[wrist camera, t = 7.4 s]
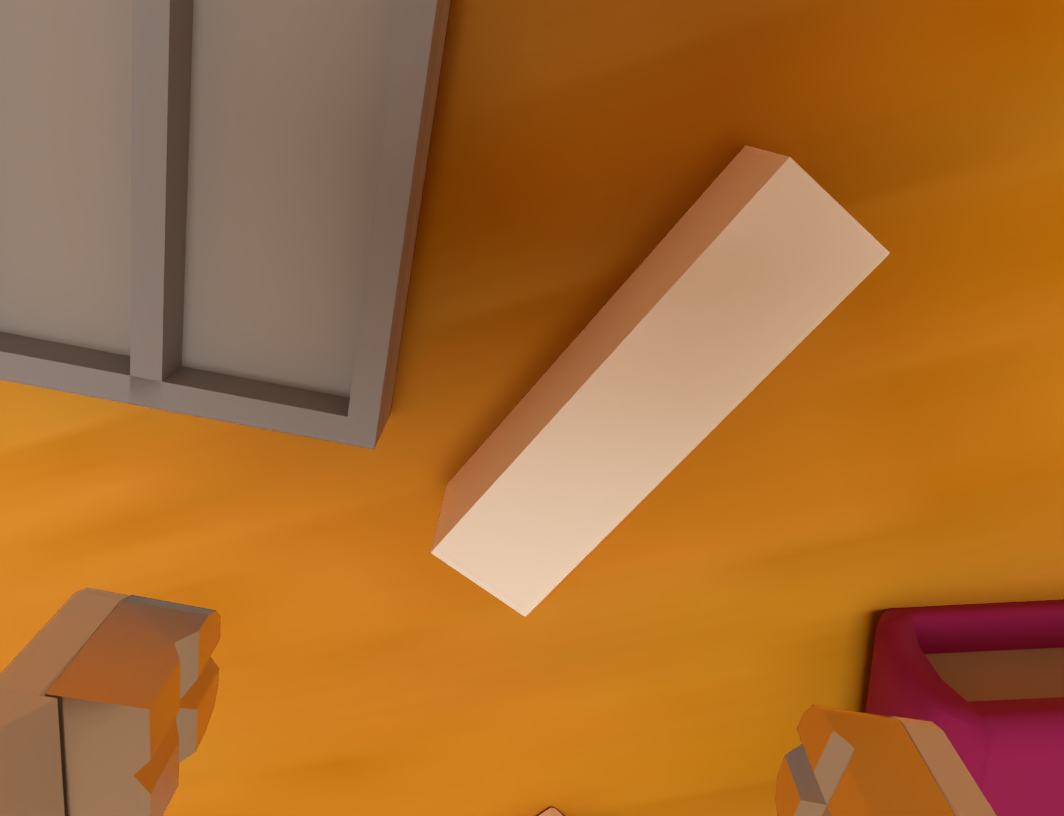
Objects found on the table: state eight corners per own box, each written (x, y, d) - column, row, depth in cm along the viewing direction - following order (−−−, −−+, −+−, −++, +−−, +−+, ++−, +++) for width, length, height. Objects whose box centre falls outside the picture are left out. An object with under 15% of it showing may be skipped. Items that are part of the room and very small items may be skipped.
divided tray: (-91, -448, 19) (-196, -539, 17) (494, -298, 20) (487, -359, 18) (-29, 334, 27) (-93, 362, 24) (390, 414, 28) (374, 449, 26)
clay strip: (743, 144, 25) (789, 156, 20) (827, 224, 26) (890, 253, 21) (447, 480, 30) (430, 552, 25) (527, 537, 31) (525, 616, 26)
